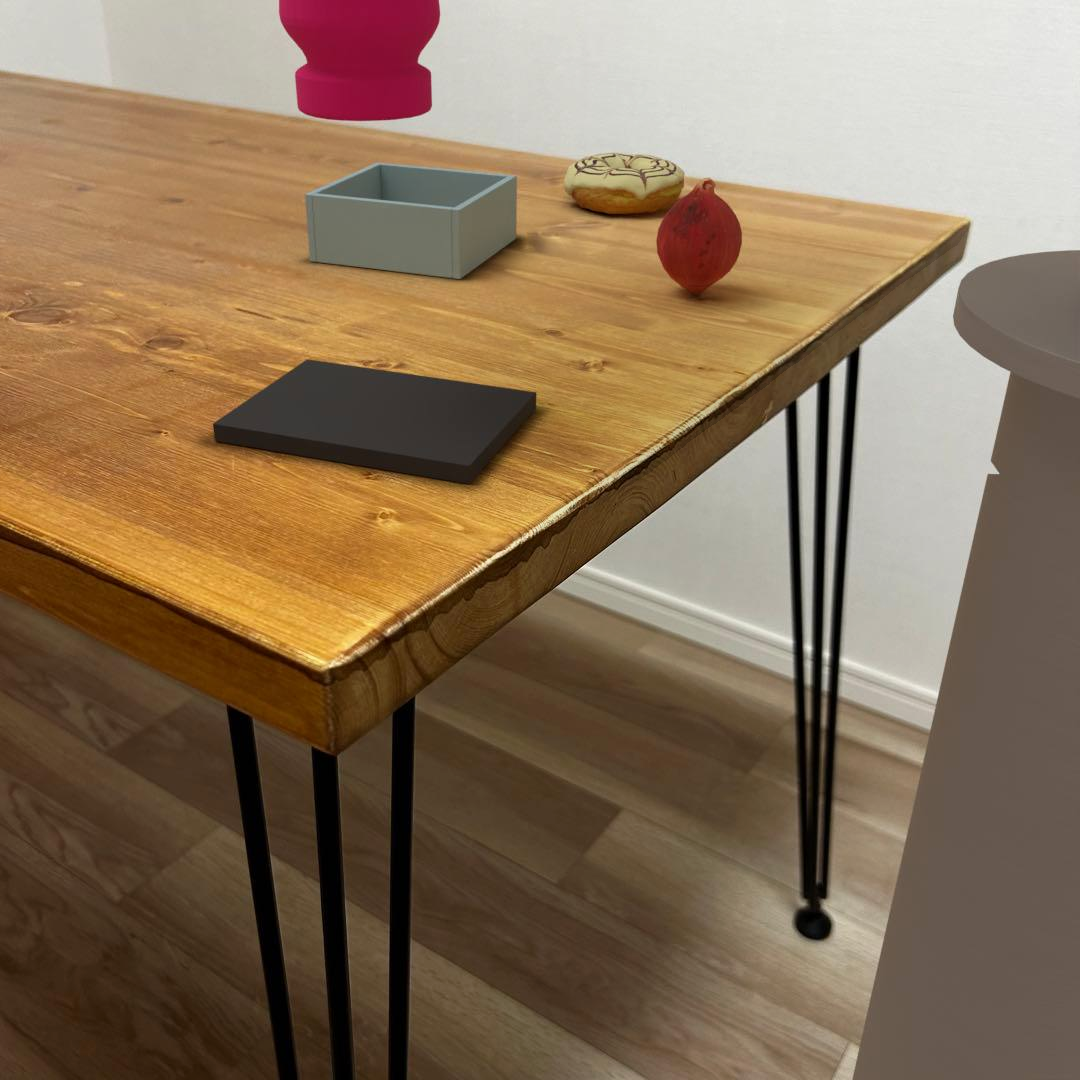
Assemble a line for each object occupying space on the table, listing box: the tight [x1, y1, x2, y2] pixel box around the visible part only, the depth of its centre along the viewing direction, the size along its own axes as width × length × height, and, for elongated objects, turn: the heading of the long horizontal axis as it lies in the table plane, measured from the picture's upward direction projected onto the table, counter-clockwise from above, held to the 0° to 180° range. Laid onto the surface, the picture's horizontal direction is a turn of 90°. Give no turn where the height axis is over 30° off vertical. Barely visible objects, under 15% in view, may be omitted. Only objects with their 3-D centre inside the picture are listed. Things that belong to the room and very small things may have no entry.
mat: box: [212, 358, 537, 485], centre depth 63 cm, size 14×10×1 cm
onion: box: [655, 177, 743, 295], centre depth 82 cm, size 6×6×8 cm
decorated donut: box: [563, 152, 685, 215], centre depth 107 cm, size 10×11×4 cm
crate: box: [304, 162, 518, 280], centre depth 92 cm, size 12×12×5 cm
